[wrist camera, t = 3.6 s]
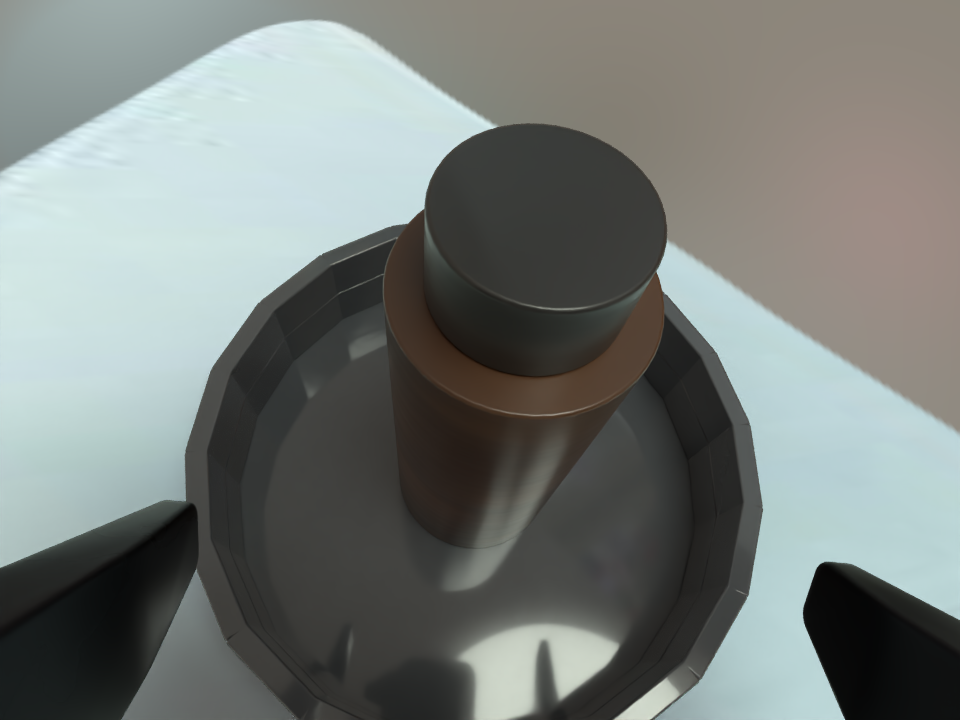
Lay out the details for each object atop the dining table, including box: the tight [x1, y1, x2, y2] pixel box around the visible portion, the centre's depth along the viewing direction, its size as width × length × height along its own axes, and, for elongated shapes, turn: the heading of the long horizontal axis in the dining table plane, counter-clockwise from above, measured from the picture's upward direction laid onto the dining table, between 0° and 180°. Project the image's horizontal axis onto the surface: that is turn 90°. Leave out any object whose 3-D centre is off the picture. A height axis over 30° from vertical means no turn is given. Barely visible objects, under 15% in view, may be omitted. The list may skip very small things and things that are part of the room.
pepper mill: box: [383, 124, 667, 548], centre depth 14 cm, size 5×5×13 cm
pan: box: [185, 224, 763, 720], centre depth 19 cm, size 16×16×4 cm
